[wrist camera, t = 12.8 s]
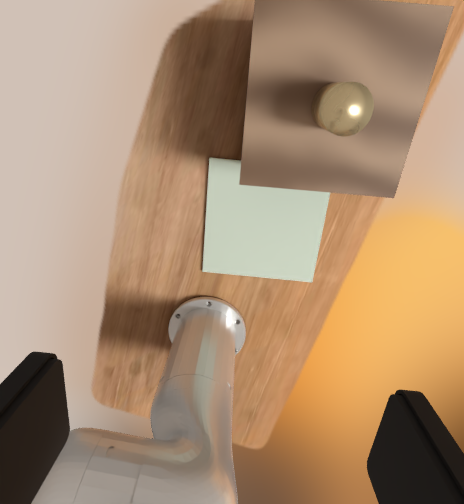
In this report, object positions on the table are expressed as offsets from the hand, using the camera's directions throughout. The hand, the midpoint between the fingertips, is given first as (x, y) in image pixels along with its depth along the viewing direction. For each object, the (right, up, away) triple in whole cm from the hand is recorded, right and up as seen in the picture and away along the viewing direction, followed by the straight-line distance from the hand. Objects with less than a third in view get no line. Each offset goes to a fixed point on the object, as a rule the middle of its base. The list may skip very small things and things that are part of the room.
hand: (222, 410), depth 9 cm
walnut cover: (+10, +23, +30) cm, 39 cm away
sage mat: (+5, +9, +37) cm, 39 cm away
